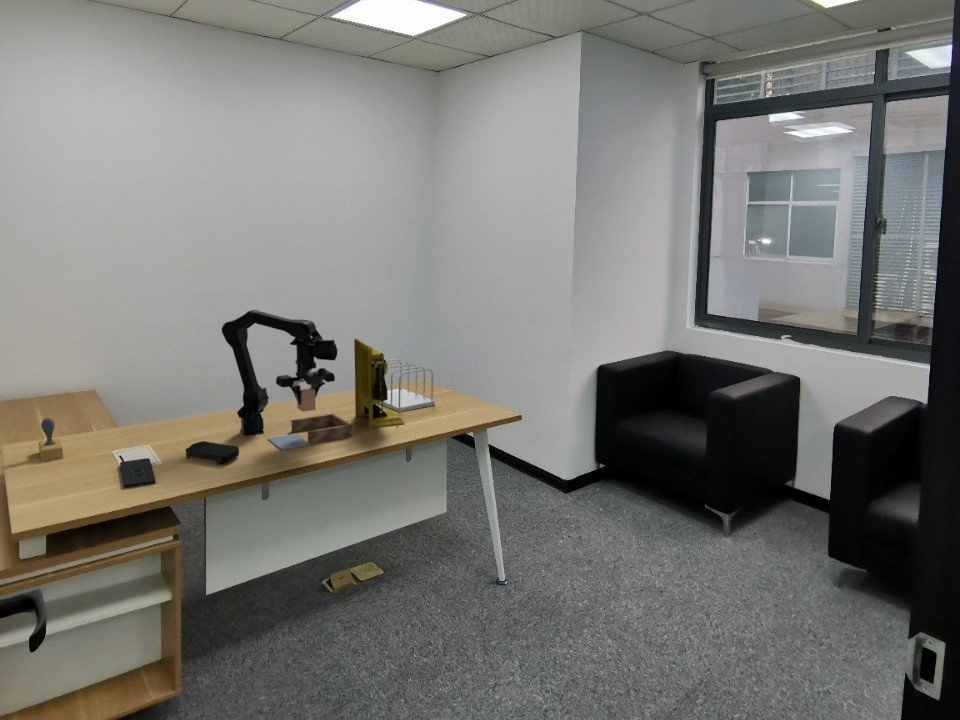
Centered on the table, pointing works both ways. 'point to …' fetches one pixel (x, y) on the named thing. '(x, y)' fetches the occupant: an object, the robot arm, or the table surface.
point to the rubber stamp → (50, 443)
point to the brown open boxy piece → (337, 431)
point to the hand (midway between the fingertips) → (306, 403)
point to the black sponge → (212, 452)
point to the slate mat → (289, 441)
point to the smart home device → (137, 473)
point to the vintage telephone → (372, 386)
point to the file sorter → (407, 391)
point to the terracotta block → (307, 399)
